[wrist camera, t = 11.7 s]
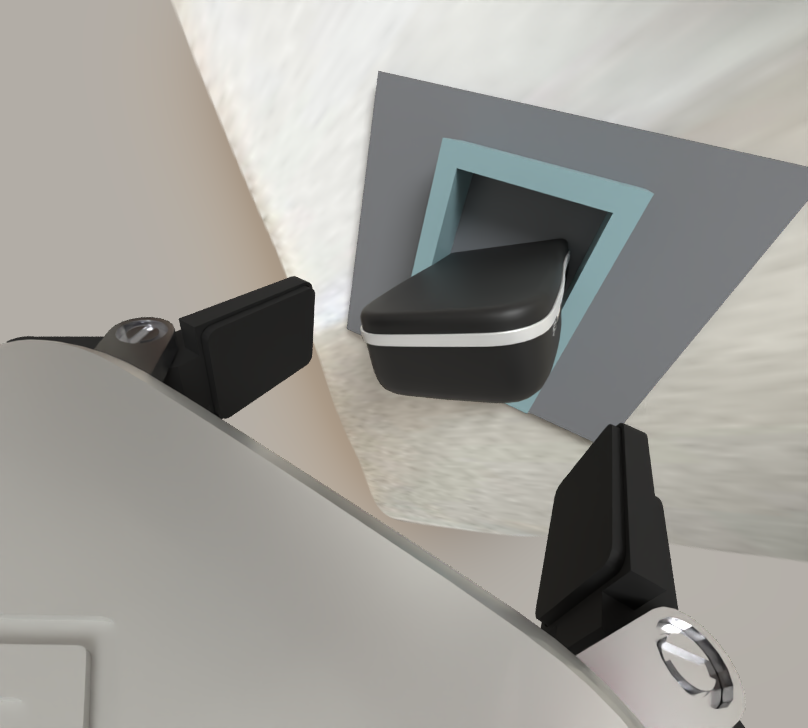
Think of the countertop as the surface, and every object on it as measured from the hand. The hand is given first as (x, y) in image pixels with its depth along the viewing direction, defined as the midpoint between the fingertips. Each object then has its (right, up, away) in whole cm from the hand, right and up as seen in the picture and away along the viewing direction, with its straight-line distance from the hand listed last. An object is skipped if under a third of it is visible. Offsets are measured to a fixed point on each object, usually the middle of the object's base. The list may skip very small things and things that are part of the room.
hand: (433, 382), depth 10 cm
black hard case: (+5, +6, +10) cm, 13 cm away
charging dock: (+5, +6, +10) cm, 13 cm away
